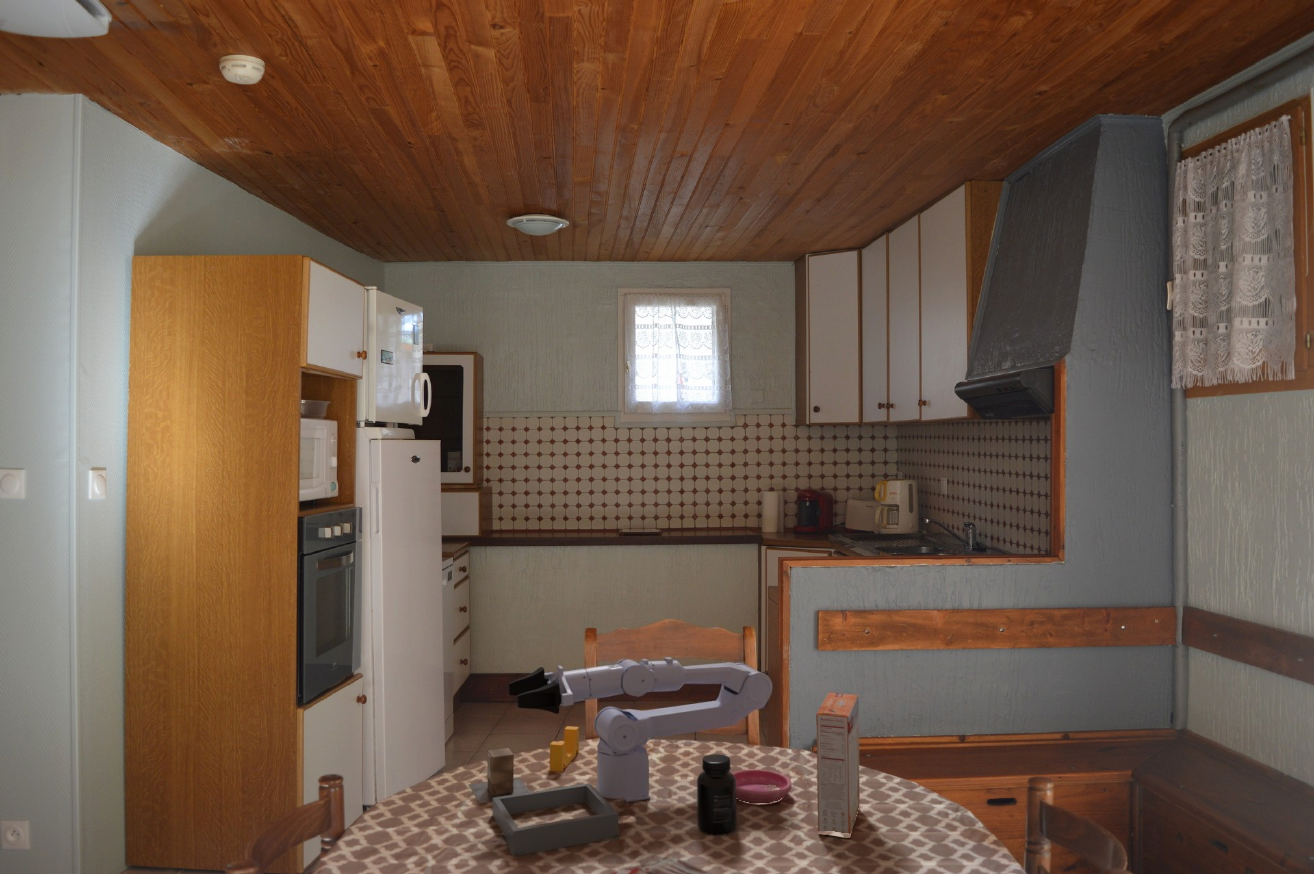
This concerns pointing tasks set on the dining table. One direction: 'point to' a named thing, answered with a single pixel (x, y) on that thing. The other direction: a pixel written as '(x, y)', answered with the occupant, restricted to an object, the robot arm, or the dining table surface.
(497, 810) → the bin
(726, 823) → the supplement bottle
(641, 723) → the robot arm
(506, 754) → the small brown box
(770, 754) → the dining table surface
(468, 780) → the dining table surface
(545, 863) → the dining table surface
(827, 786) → the cracker box
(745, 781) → the saucer
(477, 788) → the stud plate
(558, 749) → the yellow u-shaped block
